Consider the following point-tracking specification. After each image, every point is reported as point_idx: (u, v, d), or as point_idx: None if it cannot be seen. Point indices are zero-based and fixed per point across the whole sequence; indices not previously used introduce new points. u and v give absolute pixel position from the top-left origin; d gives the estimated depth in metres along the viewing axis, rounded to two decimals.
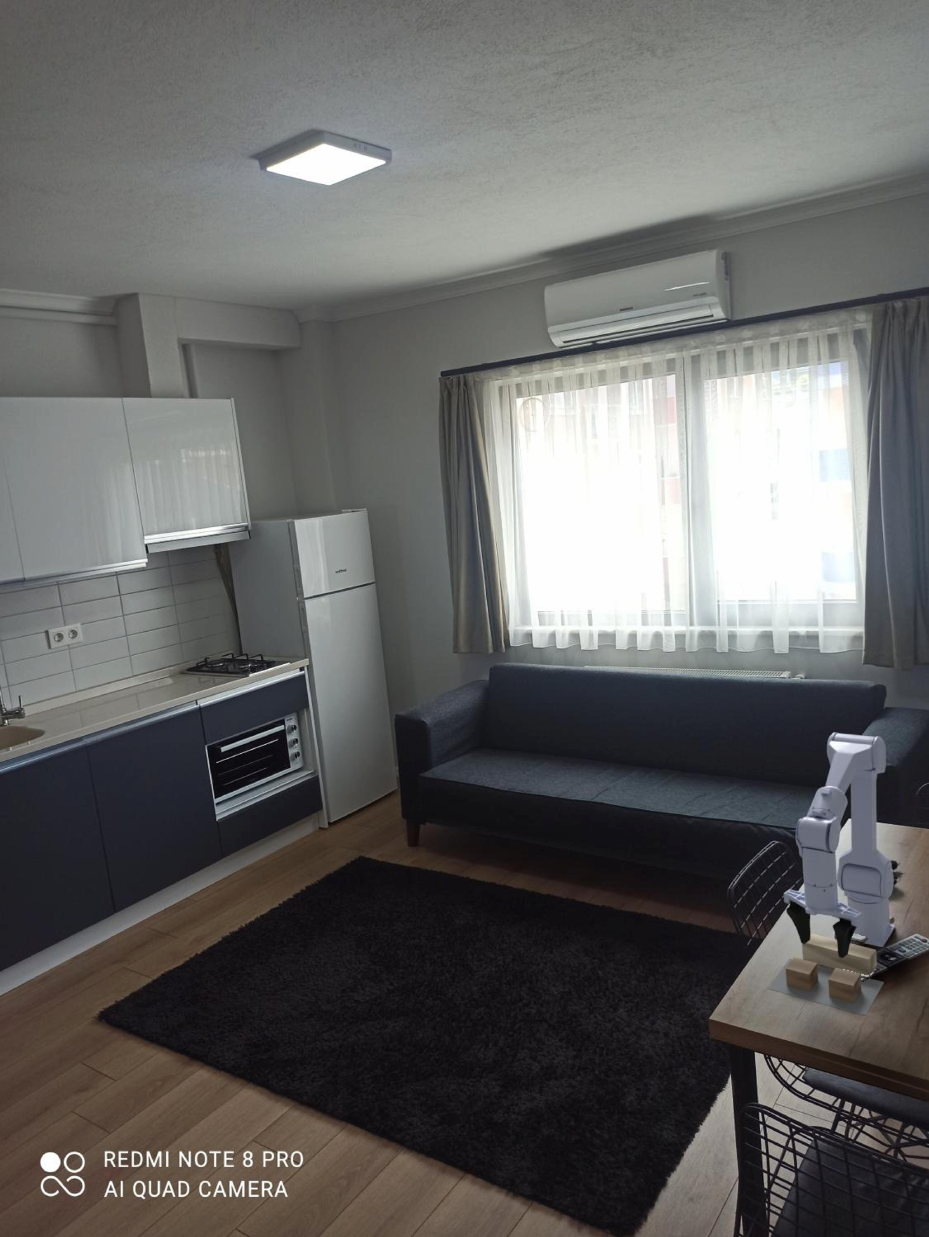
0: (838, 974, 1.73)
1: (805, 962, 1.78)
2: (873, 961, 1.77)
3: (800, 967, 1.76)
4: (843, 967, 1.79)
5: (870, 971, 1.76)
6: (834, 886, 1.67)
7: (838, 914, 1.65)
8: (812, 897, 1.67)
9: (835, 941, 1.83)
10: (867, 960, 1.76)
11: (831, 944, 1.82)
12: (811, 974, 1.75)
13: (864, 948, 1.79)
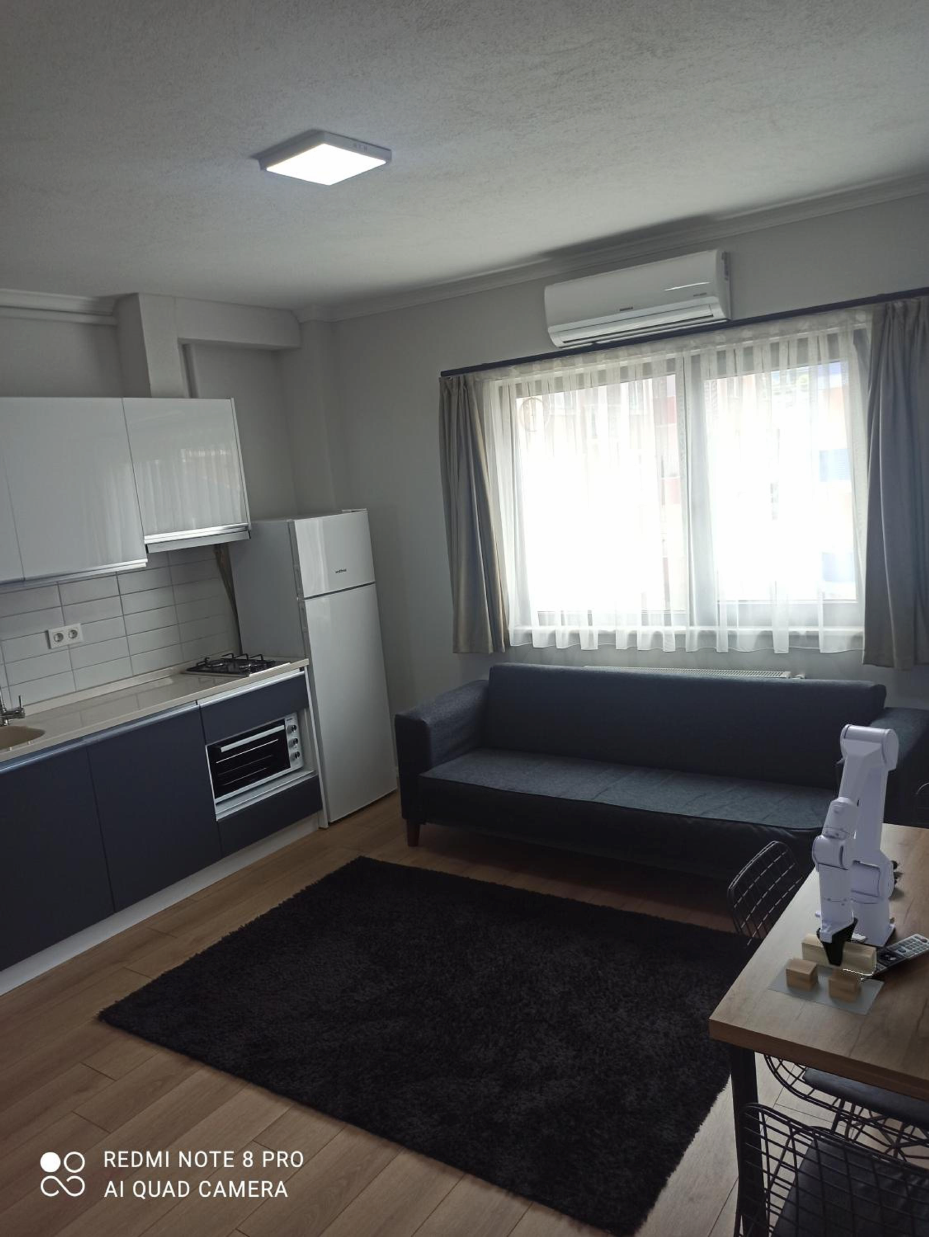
0: (838, 974, 1.73)
1: (805, 962, 1.78)
2: (873, 959, 1.78)
3: (800, 967, 1.76)
4: (844, 966, 1.79)
5: (871, 969, 1.77)
6: (830, 902, 1.78)
7: None
8: None
9: None
10: (868, 958, 1.76)
11: None
12: (811, 974, 1.75)
13: (864, 946, 1.80)
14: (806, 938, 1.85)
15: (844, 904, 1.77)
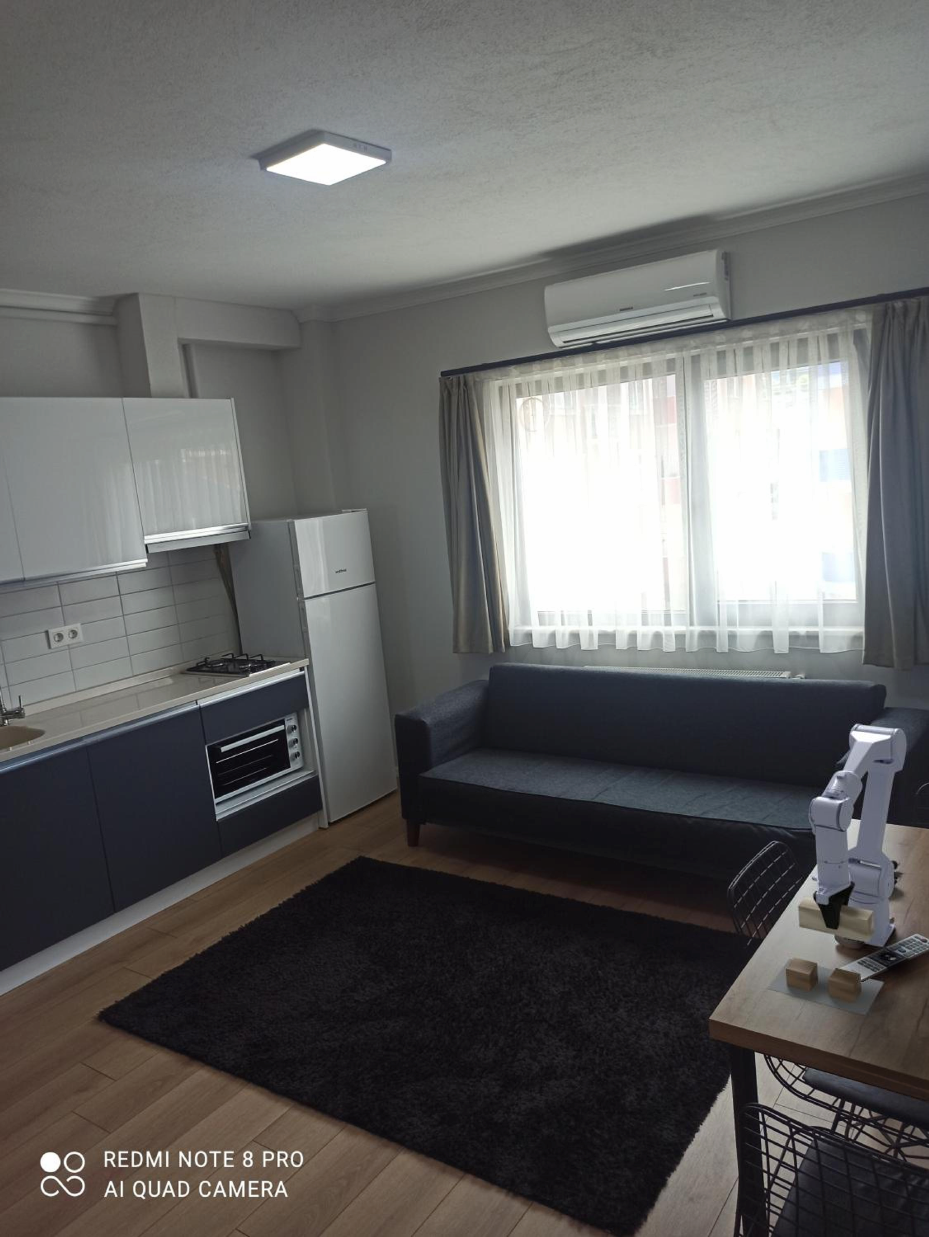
0: (838, 974, 1.73)
1: (805, 962, 1.78)
2: (870, 923, 1.76)
3: (800, 967, 1.76)
4: (840, 929, 1.78)
5: (868, 932, 1.75)
6: (827, 864, 1.76)
7: (817, 887, 1.77)
8: None
9: None
10: (865, 921, 1.74)
11: None
12: (811, 974, 1.75)
13: (861, 910, 1.78)
14: (803, 902, 1.83)
15: (841, 866, 1.75)
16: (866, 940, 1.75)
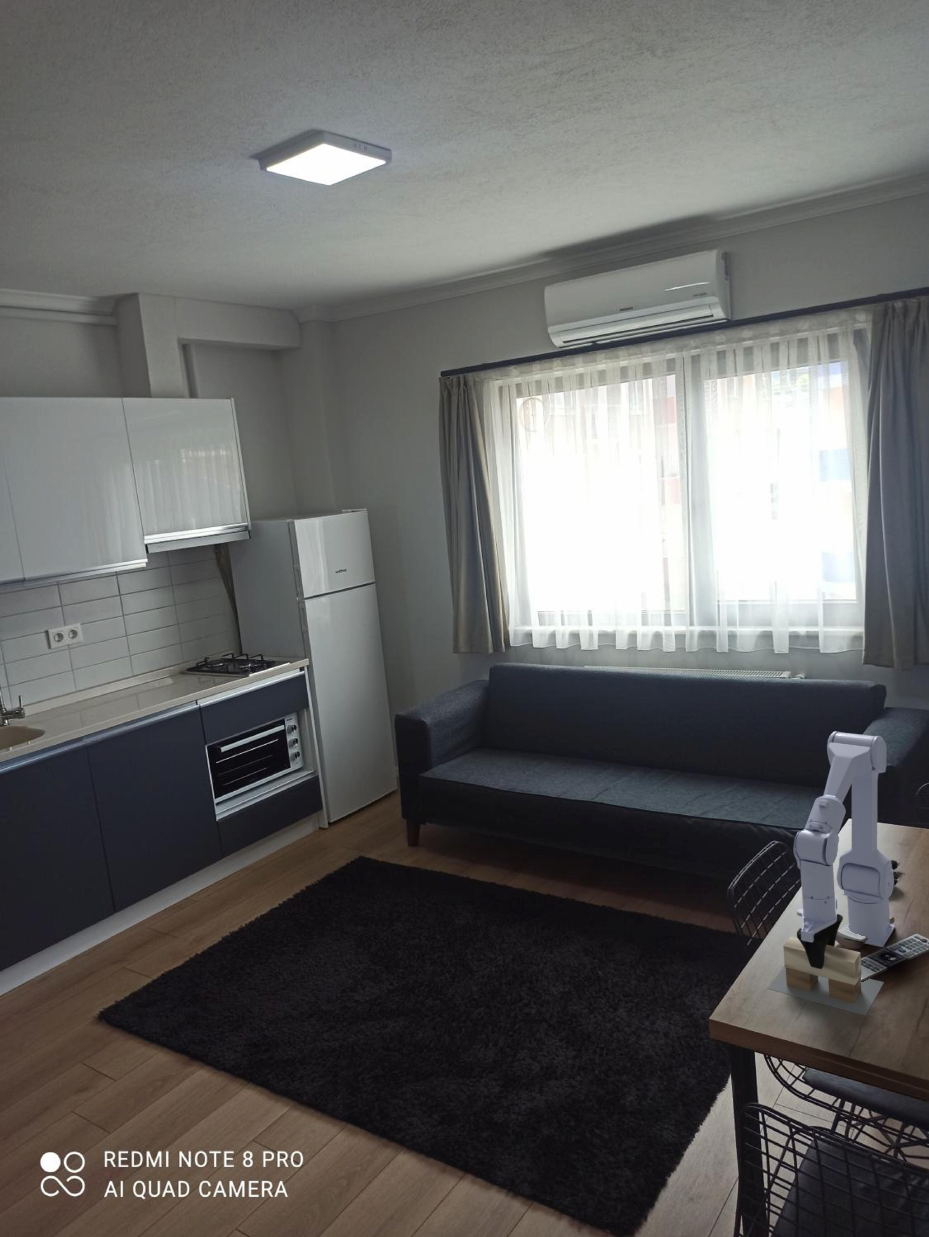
0: None
1: None
2: (857, 965, 1.70)
3: None
4: (827, 971, 1.72)
5: (855, 975, 1.69)
6: (812, 900, 1.70)
7: None
8: None
9: None
10: (852, 963, 1.68)
11: None
12: (811, 974, 1.75)
13: (848, 951, 1.72)
14: (788, 941, 1.77)
15: (827, 902, 1.69)
16: (853, 983, 1.69)
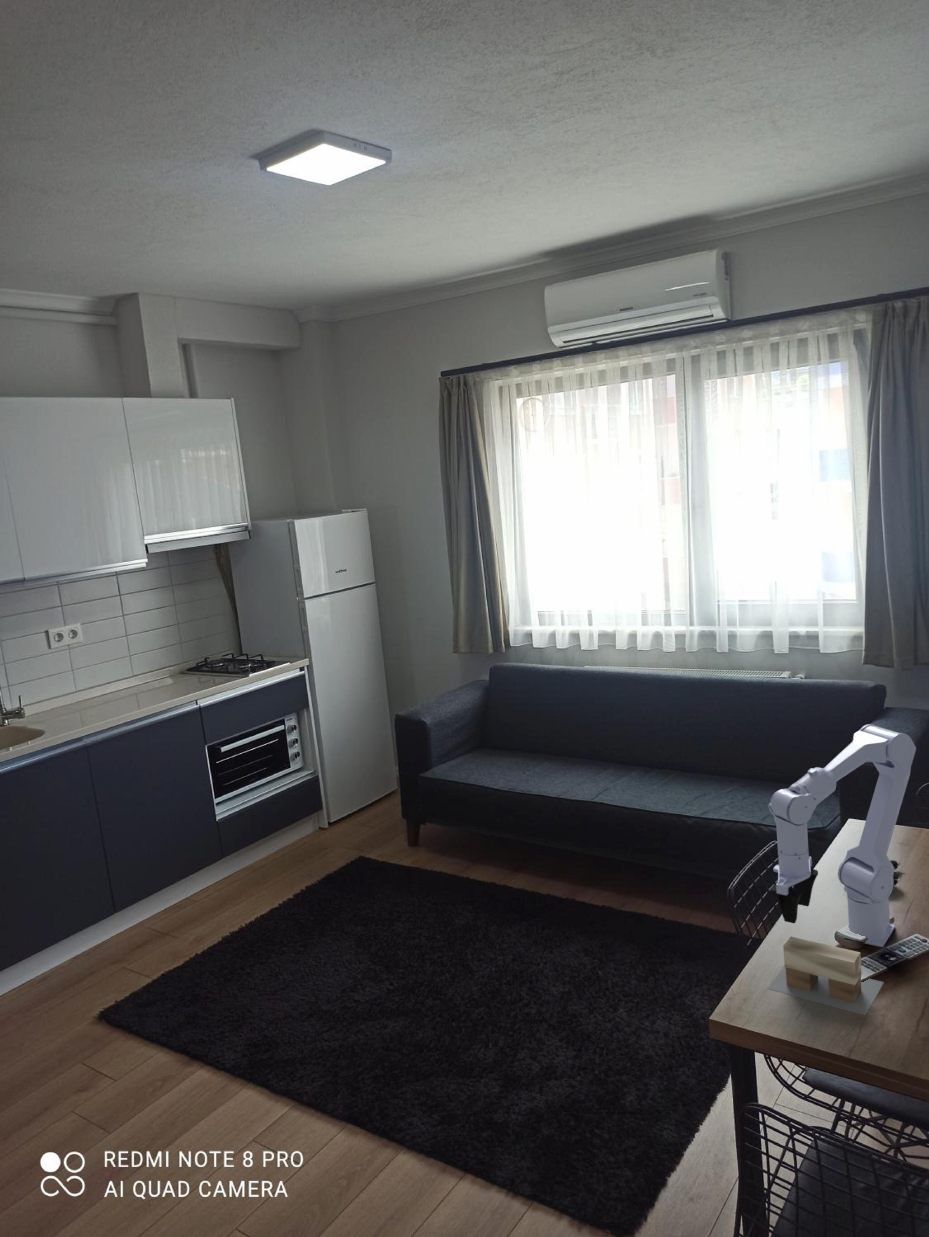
0: None
1: None
2: (857, 965, 1.70)
3: None
4: (827, 971, 1.72)
5: (855, 975, 1.69)
6: (787, 856, 1.80)
7: (778, 878, 1.81)
8: None
9: (817, 944, 1.75)
10: (852, 963, 1.68)
11: (813, 948, 1.74)
12: (811, 974, 1.75)
13: (848, 951, 1.72)
14: (788, 941, 1.77)
15: (801, 858, 1.80)
16: (853, 983, 1.69)
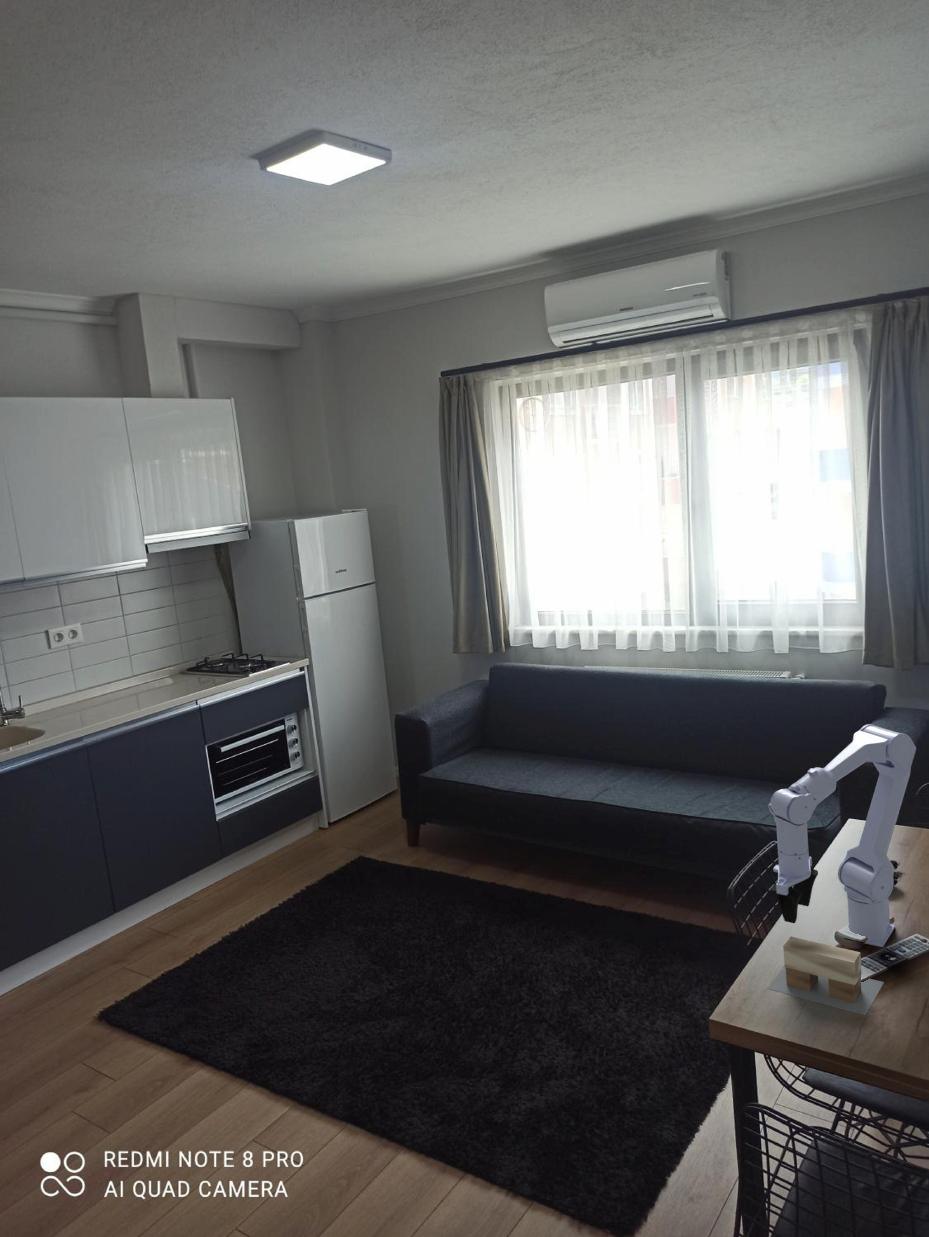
0: None
1: None
2: (857, 965, 1.70)
3: None
4: (827, 971, 1.72)
5: (855, 975, 1.69)
6: (787, 856, 1.80)
7: (778, 878, 1.81)
8: None
9: (817, 944, 1.75)
10: (852, 963, 1.68)
11: (813, 948, 1.74)
12: (811, 974, 1.75)
13: (848, 951, 1.72)
14: (788, 941, 1.77)
15: (801, 858, 1.80)
16: (853, 983, 1.69)
